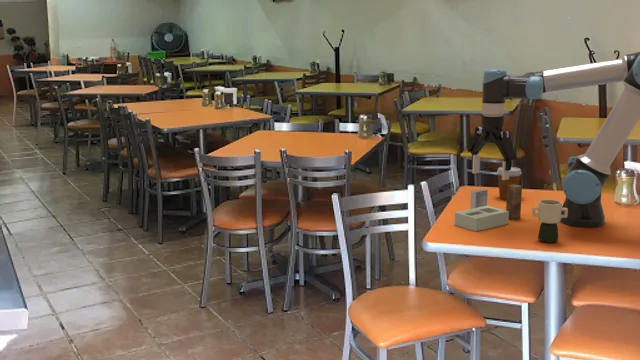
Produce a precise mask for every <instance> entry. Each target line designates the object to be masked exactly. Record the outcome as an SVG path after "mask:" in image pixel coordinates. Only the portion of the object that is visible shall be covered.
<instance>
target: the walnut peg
mask: <svg viewBox="0 0 640 360" xmlns="http://www.w3.org/2000/svg"><path fill="white" fill-rule="evenodd" d="M522 190H523V185H516V184H512V185H507V200H505V201H506V203H505V204H506V205H505V210H506V211H509V219H508V220H511V221H515V220H520V219H521V212H522V195H523V194H522V193H523V191H522Z"/></svg>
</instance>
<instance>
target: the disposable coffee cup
mask: <svg viewBox="0 0 640 360" xmlns="http://www.w3.org/2000/svg"><path fill="white" fill-rule="evenodd" d="M496 174H497V180H498V181H497V182H498V193H499V199H500V200H503V201H507V185H512V184H516V185H519V184H520V179H521V175H522V170H521V168H519V167H514V166H511V170H509V179H508V180H502V166H500V167H498V168H497V171H496Z"/></svg>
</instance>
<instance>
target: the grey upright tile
mask: <svg viewBox="0 0 640 360" xmlns="http://www.w3.org/2000/svg"><path fill="white" fill-rule="evenodd" d="M488 192H489V190H488V189H485V188H479V189H475V190H471V191H470V209H473V208H478V207H483V206H488V194H489V193H488Z"/></svg>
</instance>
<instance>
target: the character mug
mask: <svg viewBox="0 0 640 360" xmlns="http://www.w3.org/2000/svg"><path fill="white" fill-rule="evenodd" d="M562 206H563V202H562V201H560V200H557V199H550V198H549V199H546V198H545V199H540V200H539V201H538V206H532V208H531V217H536V218H537V220H538V222H541V223H540V225H539V231H538V235H537V239H539V240H540V241H543V242H545V243H546V242H547V243H553V242H557V241H559V229H558V228H559V227H558V224H557V223H560V222H561V221H560V220H561V218H567V215H568V209H567V208H562ZM536 210H538V211H537V213H536ZM561 211H565V212H564V215H561Z"/></svg>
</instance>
